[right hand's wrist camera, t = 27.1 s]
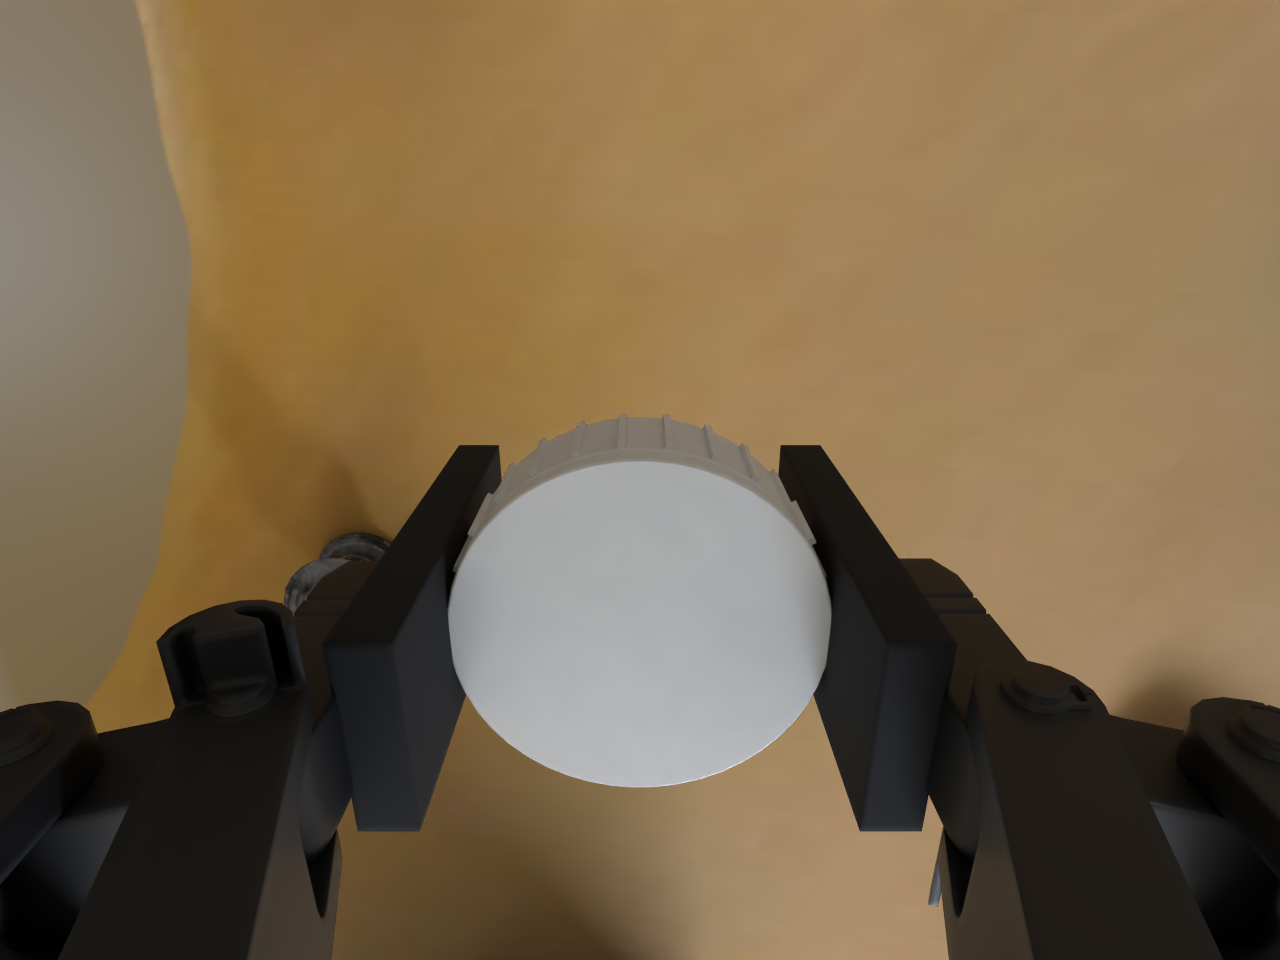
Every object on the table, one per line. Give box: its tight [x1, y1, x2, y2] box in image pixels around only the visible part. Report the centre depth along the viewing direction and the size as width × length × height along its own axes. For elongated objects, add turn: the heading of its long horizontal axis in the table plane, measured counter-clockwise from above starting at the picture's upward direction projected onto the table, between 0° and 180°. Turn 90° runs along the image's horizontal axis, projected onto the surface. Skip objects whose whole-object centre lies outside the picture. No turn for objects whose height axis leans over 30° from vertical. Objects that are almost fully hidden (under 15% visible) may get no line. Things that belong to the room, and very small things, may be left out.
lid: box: [448, 413, 832, 787], centre depth 11 cm, size 6×6×2 cm
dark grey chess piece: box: [284, 533, 391, 616], centre depth 36 cm, size 6×6×12 cm
